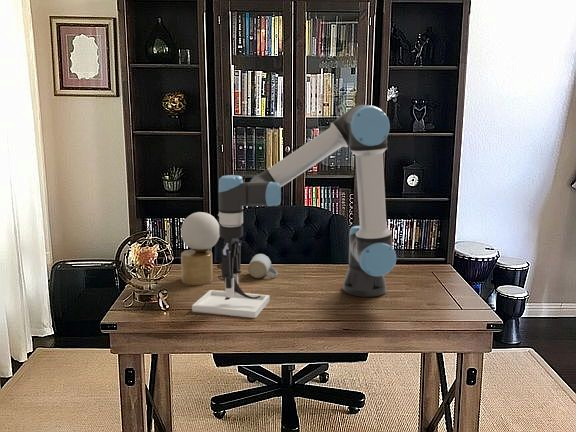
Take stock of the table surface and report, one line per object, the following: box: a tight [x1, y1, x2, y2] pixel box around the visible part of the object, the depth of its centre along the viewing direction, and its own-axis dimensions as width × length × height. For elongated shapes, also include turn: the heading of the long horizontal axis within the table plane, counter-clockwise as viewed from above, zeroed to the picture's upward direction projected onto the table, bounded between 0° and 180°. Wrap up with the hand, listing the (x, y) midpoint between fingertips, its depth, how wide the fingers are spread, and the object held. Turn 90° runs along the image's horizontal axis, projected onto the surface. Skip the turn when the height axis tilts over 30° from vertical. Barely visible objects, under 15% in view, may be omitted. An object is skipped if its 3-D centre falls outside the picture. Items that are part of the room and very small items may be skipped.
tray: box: [191, 289, 271, 319], centre depth 207 cm, size 21×16×2 cm
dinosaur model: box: [216, 262, 261, 300], centre depth 205 cm, size 4×12×15 cm
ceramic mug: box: [247, 253, 278, 279], centre depth 238 cm, size 11×8×8 cm
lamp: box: [180, 211, 220, 286], centre depth 232 cm, size 15×14×25 cm
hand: (231, 294), depth 206 cm, fingers closed on dinosaur model, 3 cm apart
